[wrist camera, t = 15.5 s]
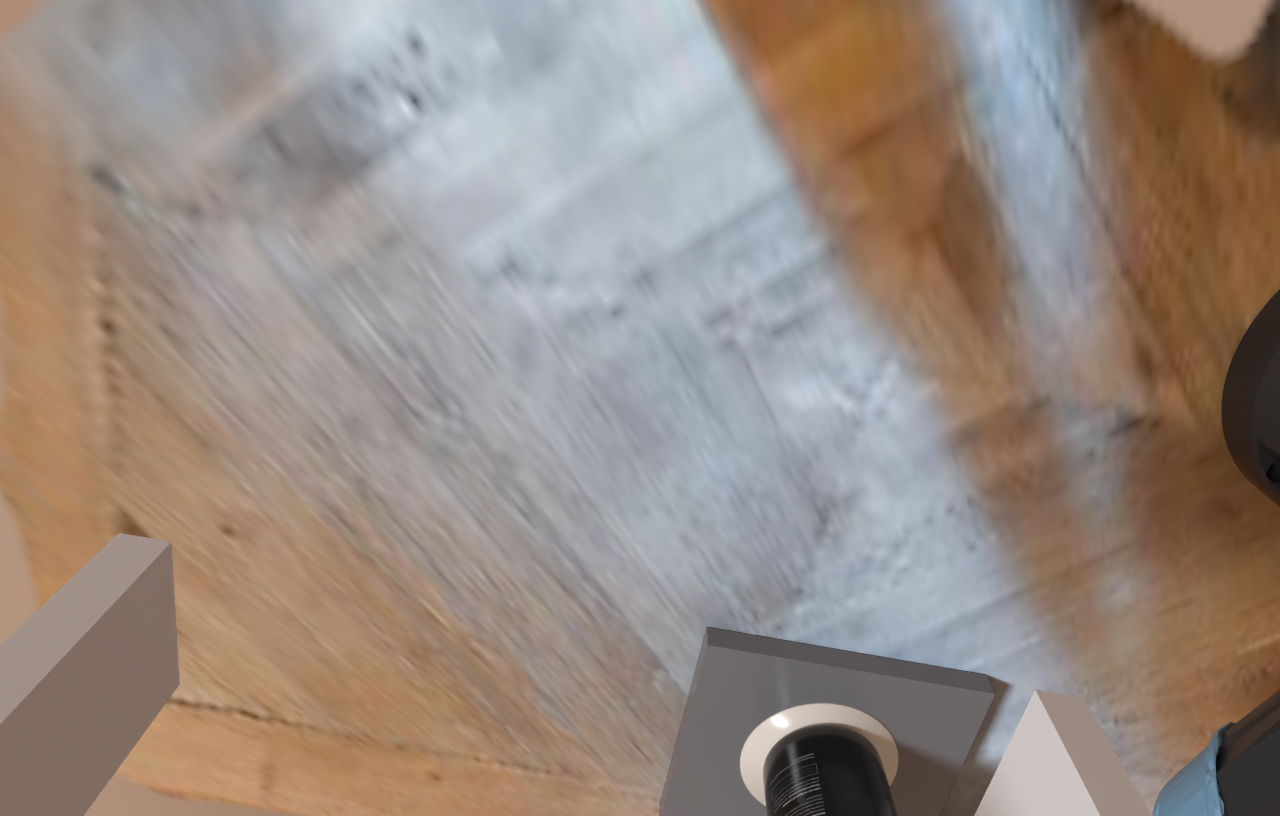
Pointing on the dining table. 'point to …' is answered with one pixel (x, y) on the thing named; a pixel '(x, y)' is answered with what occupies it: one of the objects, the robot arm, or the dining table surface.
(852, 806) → the supplement bottle
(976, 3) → the dining table surface
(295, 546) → the dining table surface
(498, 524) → the dining table surface
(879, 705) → the board
